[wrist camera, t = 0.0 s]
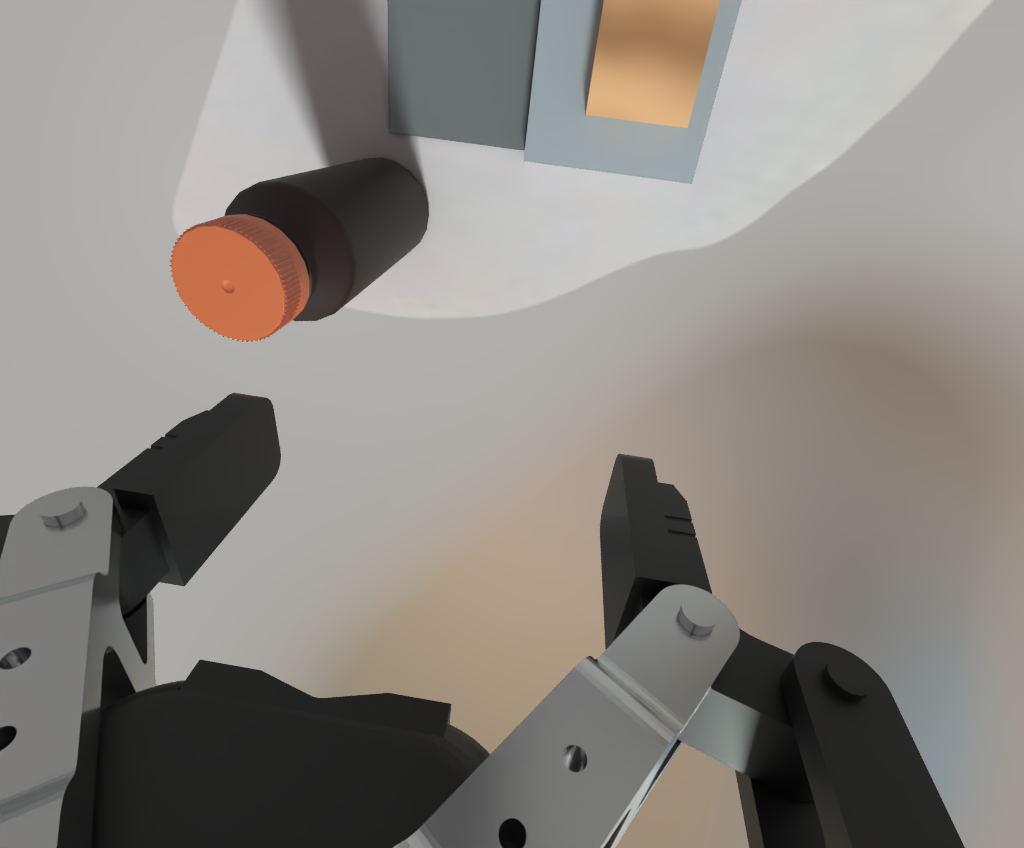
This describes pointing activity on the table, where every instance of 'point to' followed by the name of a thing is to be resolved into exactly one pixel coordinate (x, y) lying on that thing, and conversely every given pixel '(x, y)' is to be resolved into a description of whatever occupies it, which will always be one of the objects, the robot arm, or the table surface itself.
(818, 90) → the table surface
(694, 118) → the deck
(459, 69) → the mat
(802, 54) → the table surface
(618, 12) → the tile
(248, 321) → the bottle
